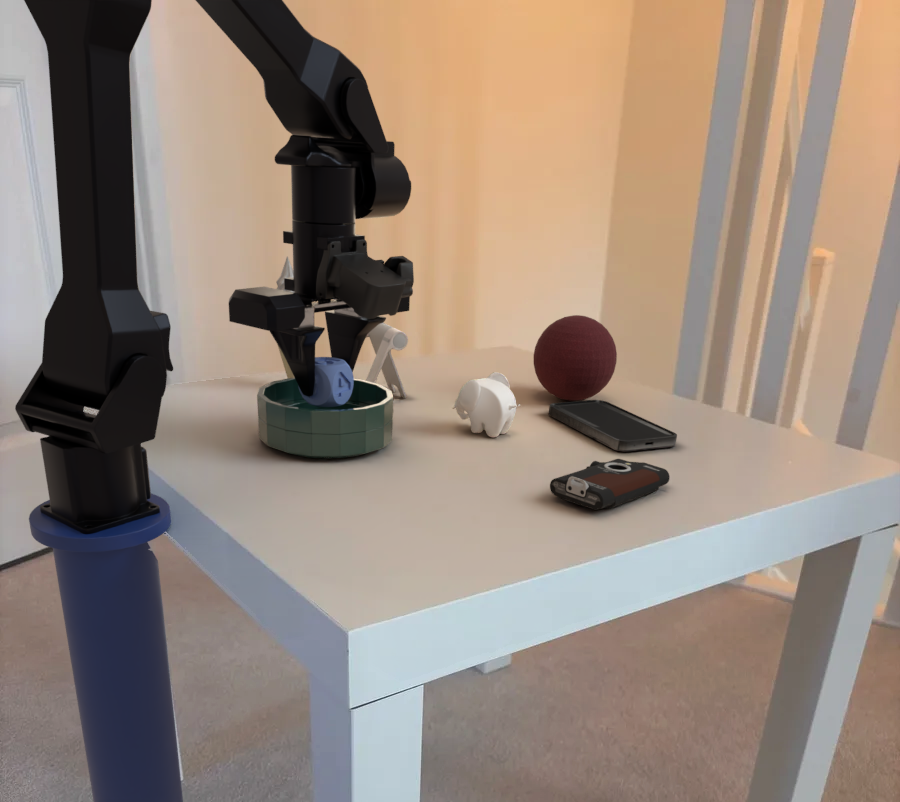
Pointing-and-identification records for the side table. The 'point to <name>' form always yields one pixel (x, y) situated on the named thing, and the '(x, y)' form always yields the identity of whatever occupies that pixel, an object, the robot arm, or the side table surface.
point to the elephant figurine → (487, 404)
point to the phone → (612, 425)
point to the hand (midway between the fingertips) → (325, 391)
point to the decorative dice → (331, 382)
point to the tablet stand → (387, 355)
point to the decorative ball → (575, 358)
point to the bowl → (325, 421)
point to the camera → (609, 483)
